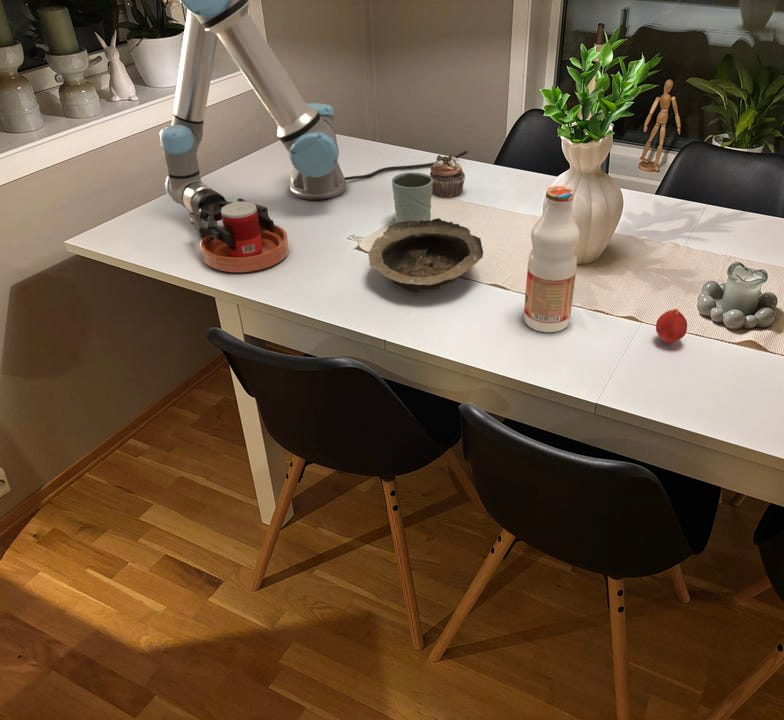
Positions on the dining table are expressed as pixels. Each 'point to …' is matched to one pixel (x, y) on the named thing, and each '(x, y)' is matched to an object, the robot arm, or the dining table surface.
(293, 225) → the dining table surface
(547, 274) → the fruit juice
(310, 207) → the dining table surface
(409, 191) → the green embossed cup
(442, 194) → the cupcake
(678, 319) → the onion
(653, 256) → the dining table surface
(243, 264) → the bowl
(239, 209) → the canned food
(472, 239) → the stone bowl
